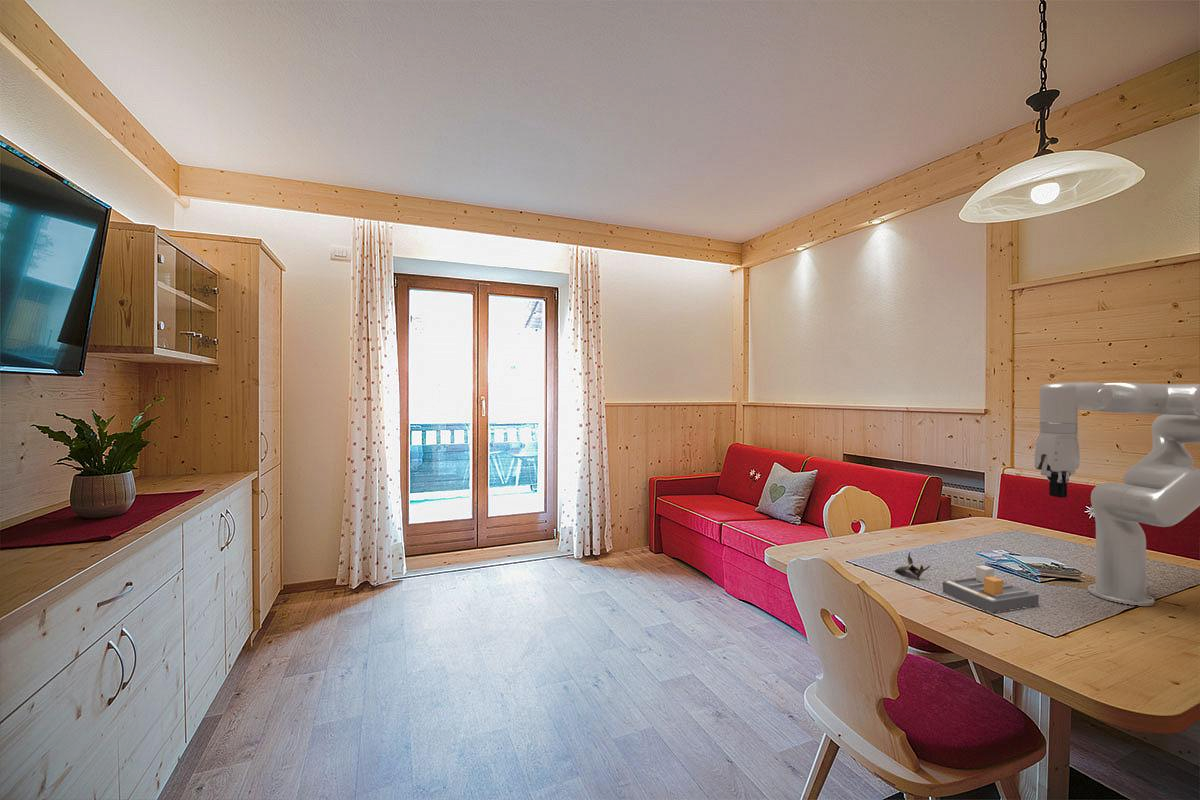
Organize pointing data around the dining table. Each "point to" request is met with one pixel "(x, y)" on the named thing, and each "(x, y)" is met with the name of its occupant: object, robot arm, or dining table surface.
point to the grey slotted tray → (975, 595)
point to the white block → (983, 573)
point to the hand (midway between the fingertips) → (1058, 496)
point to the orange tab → (993, 585)
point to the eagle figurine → (912, 568)
